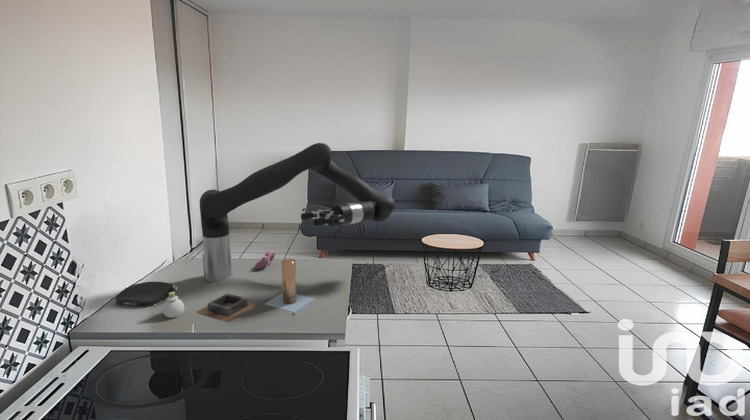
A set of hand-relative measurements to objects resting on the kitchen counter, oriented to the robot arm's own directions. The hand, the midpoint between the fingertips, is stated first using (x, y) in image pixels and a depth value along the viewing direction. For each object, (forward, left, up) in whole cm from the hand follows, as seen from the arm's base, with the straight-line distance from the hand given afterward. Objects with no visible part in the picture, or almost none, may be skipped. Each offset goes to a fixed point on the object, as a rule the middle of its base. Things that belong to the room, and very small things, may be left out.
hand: (307, 219), depth 145 cm
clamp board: (-15, -23, -26) cm, 38 cm away
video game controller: (-30, +13, -27) cm, 42 cm away
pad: (-1, -10, -26) cm, 28 cm away
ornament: (-27, -33, -27) cm, 50 cm away
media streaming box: (-47, -28, -27) cm, 61 cm away
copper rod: (-1, -10, -25) cm, 27 cm away
